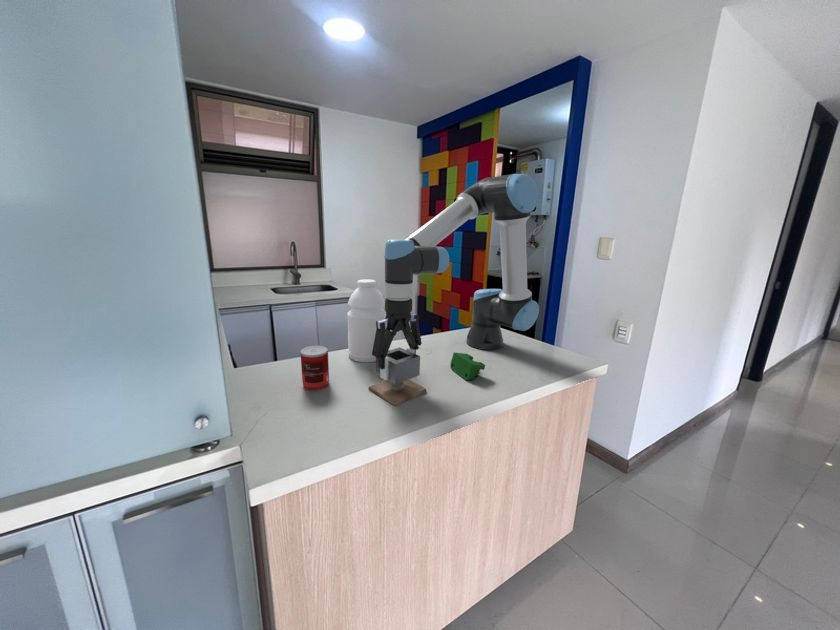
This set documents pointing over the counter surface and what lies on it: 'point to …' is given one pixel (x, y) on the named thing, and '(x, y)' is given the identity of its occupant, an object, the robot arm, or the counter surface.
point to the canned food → (315, 367)
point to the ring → (401, 365)
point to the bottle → (364, 320)
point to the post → (397, 391)
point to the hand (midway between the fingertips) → (397, 373)
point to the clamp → (466, 366)
